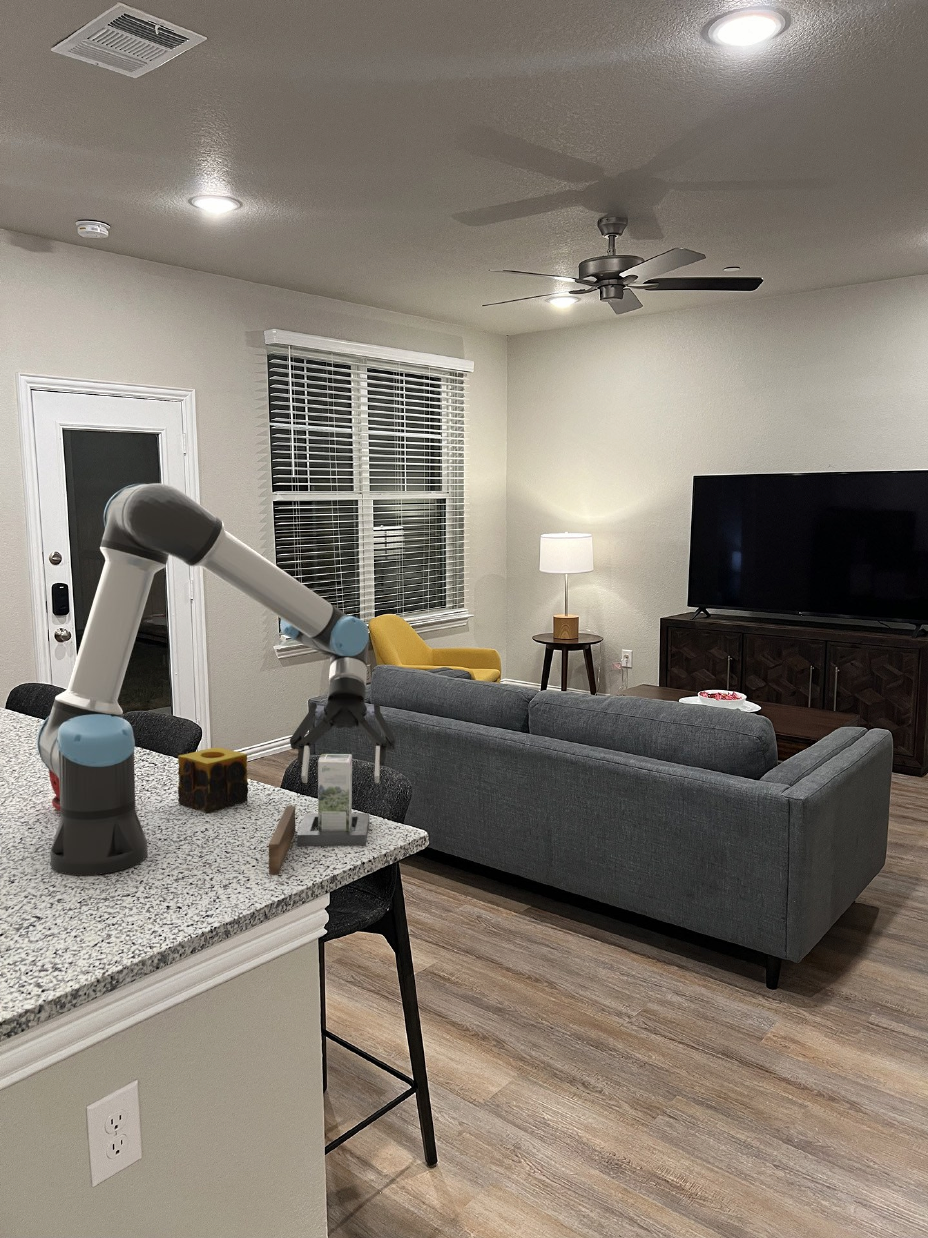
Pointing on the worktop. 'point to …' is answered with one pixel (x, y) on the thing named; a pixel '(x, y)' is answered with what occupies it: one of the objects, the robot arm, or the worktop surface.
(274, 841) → the rail
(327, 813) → the syrup box
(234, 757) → the candle
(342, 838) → the block
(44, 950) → the worktop surface
